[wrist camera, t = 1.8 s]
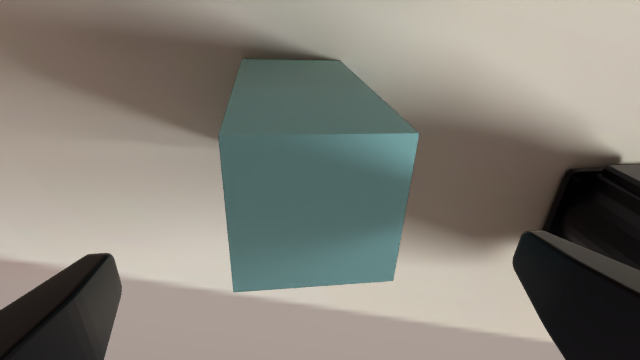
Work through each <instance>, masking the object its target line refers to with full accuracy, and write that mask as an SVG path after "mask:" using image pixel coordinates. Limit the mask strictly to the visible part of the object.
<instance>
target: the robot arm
mask: <svg viewBox="0 0 640 360" xmlns="http://www.w3.org/2000/svg"><path fill="white" fill-rule="evenodd" d="M513 267H514V270H515V272H516V274H517V276H518V278H519V280H520V281H521V283H522V285H523V287H524V289H525V291H526V293H527V295H528V297H529V299H530V300H531V302H532V304H533V306H534V308H535V310H536V312H537V314H538V316H539V318H540V319H541V321H542V323H543V325H544V327H545V328H546V330H547V332H548V333H549V335H550V336H551V338H552V340H553V341H554V343H555V344H556V346H557V347H558V349H559V350H560V352H561V353H562V355H563V357H564V358H565V360H640V164H633V165H608V166H606V167H604V168H577V169H571V170H569V171H568V172H567V173H566V174H565V176H564V178H563V181H562V183H561V186H560V188H559V191H558V193H557V196H556V198H555V201H554V203H553V206H552V208H551V211H550V213H549V216H548V218H547V221H546V223H545V226H544V228H543V231H541V230H539V231H526V232H524V233H523V234H522V235H521V237H520V240H519V243H518V246H517V248H516V251H515V254H514V256H513ZM121 292H122V285H121V281H120V277H119V274H118V270H117V267H116V263H115V260H114V258H113V256H112V255H111V254H109V253H98V254H88V255H86V256H84V257H83V258H81V259H79V260H78V261H76V262H75V263H73V264H72V265H70V266H69V267H67V268H65V269H64V270H62V271H61V272H59V273H58V274H56V275H55V276H53V277H51V278H50V279H49V280H47V281H45V282H44V283H42V284H41V285H39V286H37V287H36V288H34V289H33V290H31V291H30V292H28V293H27V294H25V295H24V296H22V297H21V298H19V299H17V300H16V301H14V302H12V303H11V304H9V305H8V306H6V307H5V308H3V309H2V310H0V360H104V357H105V353H106V350H107V346H108V342H109V338H110V335H111V331H112V327H113V324H114V320H115V316H116V312H117V309H118V305H119V301H120V298H121Z"/></svg>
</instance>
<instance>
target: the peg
mask: <svg viewBox="0 0 640 360" xmlns="http://www.w3.org/2000/svg"><path fill="white" fill-rule="evenodd" d="M218 138H219V148H220V158H221V169H222V179H223V189H224V200H225V210H226V220H227V230H228V241H229V251H230V261H231V272H232V282H233V292H244V291H258V290H272V289H286V288H300V287H314V286H328V285H342V284H356V283H370V282H384V281H393V279H394V273H395V268H396V262H397V256H398V251H399V245H400V239H401V234H402V228H403V222H404V217H405V211H406V206H407V200H408V194H409V189H410V183H411V177H412V172H413V166H414V160H415V155H416V149H417V143H418V138H419V133H418V132H417V131H416V130H415V129H414V128H413V127H412V126H411V125H410V124H409V123H408V122H406V121H405V120H404V119H403V118H402V117H401V116H400V115H399V114H398V113H397V112H396V111H394V110H393V109H392V108H391V107H390V106H389V105H388V104H387V103H386V102H385V101H384V100H382V99H381V98H380V97H379V96H378V95H377V94H376V93H375V92H374V91H373V90H372V89H370V88H369V87H368V86H367V85H366V84H365V83H364V82H363V81H362V80H361V79H360V78H358V77H357V76H356V75H355V74H354V73H353V72H352V71H351V70H350V69H349V68H348V67H346V66H345V65H344V64H343V63H342V62H341V61H337V60H282V59H242V61H241V64H240V67H239V71H238V74H237V77H236V80H235V83H234V87H233V90H232V93H231V96H230V100H229V103H228V106H227V109H226V112H225V116H224V119H223V122H222V125H221V128H220V132H219V135H218Z"/></svg>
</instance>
